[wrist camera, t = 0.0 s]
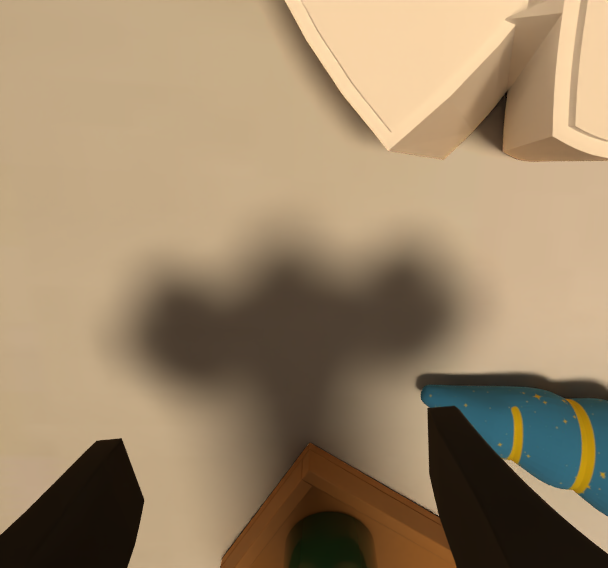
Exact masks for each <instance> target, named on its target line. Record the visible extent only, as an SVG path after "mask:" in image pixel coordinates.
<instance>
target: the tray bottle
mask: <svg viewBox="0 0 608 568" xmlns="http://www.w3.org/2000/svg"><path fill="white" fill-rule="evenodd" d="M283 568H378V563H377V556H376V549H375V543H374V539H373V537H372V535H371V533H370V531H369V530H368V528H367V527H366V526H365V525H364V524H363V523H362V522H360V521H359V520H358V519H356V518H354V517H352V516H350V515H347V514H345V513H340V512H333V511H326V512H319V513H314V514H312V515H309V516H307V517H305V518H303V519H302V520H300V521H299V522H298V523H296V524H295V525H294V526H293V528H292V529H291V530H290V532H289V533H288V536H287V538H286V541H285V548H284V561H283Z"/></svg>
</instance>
